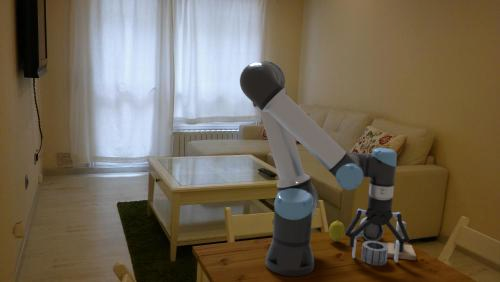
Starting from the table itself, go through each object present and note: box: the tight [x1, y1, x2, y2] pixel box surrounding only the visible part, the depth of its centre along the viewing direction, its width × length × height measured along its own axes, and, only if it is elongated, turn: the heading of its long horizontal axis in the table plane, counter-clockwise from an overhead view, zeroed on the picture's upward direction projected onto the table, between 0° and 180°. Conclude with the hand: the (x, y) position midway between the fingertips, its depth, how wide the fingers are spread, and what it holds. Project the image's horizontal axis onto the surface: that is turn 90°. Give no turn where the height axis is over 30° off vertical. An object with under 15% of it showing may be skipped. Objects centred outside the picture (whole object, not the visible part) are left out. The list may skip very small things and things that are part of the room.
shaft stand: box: [381, 220, 417, 261], centre depth 158 cm, size 10×9×11 cm
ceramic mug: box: [351, 216, 384, 242], centre depth 170 cm, size 11×8×8 cm
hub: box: [360, 240, 388, 267], centre depth 152 cm, size 8×8×5 cm
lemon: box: [328, 220, 346, 243], centre depth 165 cm, size 6×6×8 cm
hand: (374, 258), depth 152 cm, fingers open, 13 cm apart
